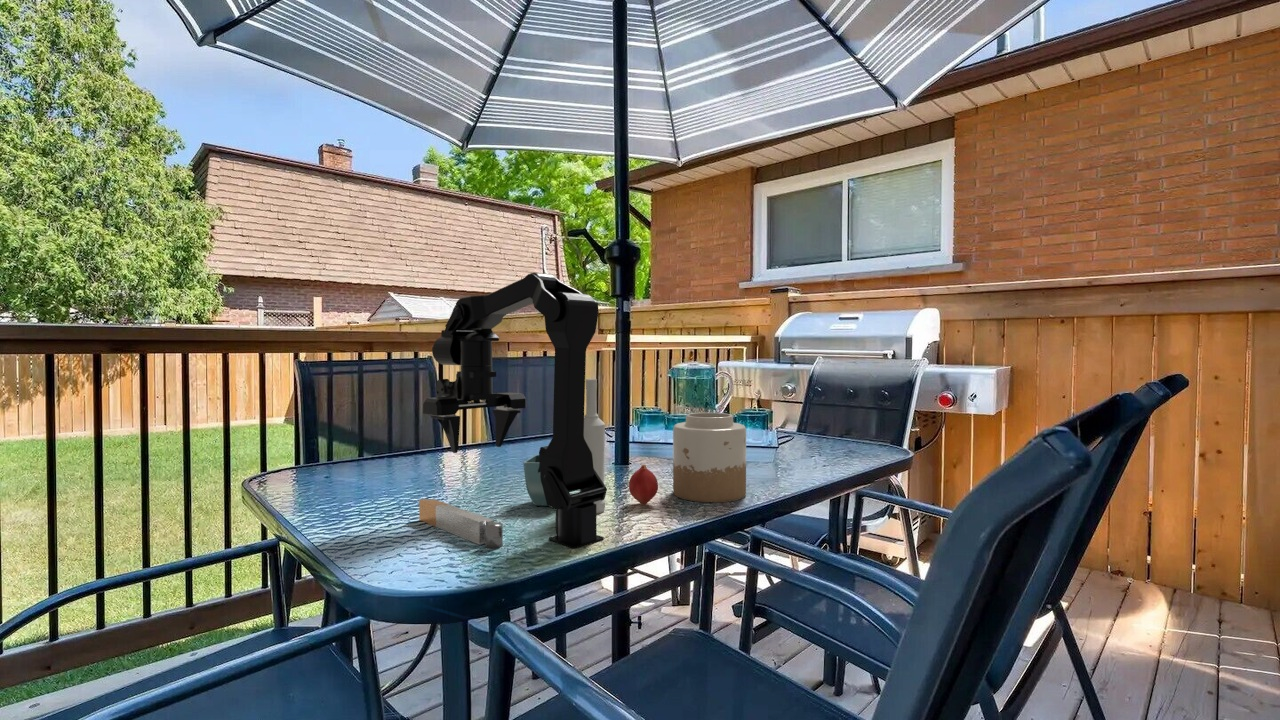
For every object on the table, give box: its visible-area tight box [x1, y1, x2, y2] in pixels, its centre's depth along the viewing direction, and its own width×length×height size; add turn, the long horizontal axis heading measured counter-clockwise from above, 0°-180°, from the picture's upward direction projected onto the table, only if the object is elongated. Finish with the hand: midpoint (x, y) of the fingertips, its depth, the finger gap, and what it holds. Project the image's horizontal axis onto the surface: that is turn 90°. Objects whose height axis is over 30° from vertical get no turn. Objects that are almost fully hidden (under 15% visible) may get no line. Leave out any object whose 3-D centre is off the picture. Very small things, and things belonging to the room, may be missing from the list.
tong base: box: [429, 498, 504, 550], centre depth 104 cm, size 23×3×4 cm, turn 46°
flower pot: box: [523, 454, 548, 507], centre depth 123 cm, size 9×9×9 cm
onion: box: [628, 464, 659, 506], centre depth 122 cm, size 6×6×8 cm
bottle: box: [579, 378, 606, 515], centre depth 117 cm, size 5×5×25 cm
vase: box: [672, 412, 747, 503], centre depth 131 cm, size 15×15×17 cm
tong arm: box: [418, 498, 486, 546], centre depth 104 cm, size 20×1×4 cm, turn 46°
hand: (477, 449), depth 116 cm, fingers open, 9 cm apart
